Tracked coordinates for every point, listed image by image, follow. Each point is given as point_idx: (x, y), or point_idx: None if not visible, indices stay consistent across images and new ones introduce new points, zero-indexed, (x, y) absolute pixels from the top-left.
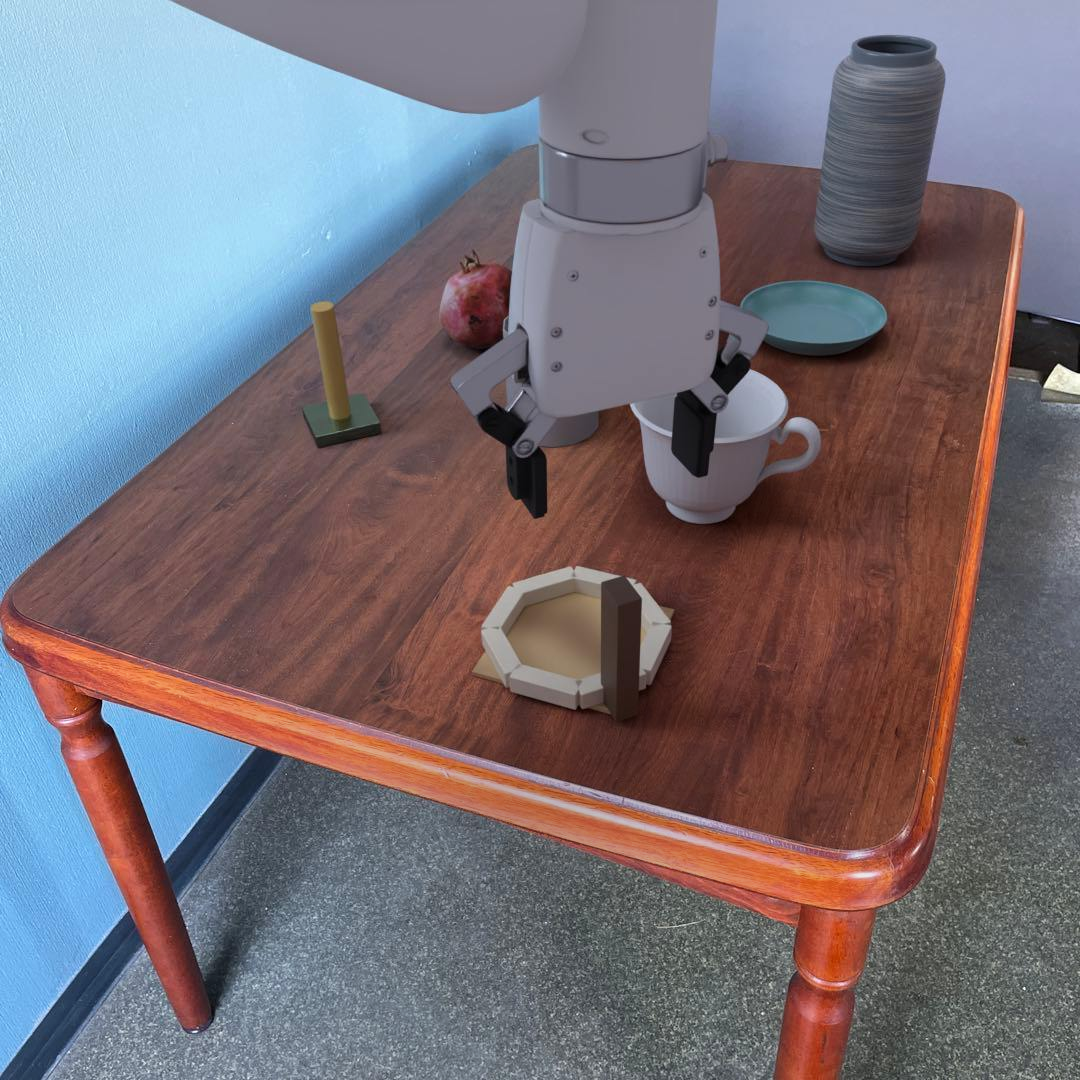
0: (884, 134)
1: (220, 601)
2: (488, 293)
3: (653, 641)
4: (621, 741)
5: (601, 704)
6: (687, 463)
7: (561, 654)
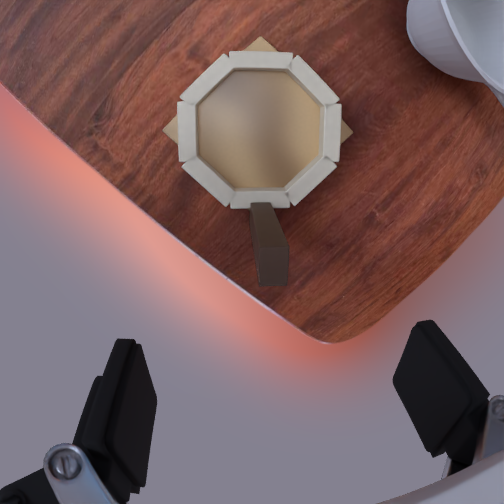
0: None
1: (26, 11)
2: None
3: (313, 176)
4: (247, 236)
5: None
6: (402, 370)
7: (240, 139)
